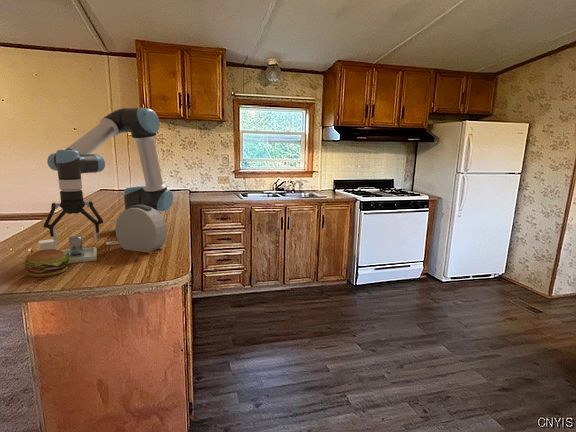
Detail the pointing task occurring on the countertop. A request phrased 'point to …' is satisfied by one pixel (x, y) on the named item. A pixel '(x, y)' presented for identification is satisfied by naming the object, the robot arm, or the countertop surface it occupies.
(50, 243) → the cream block
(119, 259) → the countertop surface
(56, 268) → the food
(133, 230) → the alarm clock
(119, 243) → the label tile
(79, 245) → the metal door knob
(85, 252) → the tray
